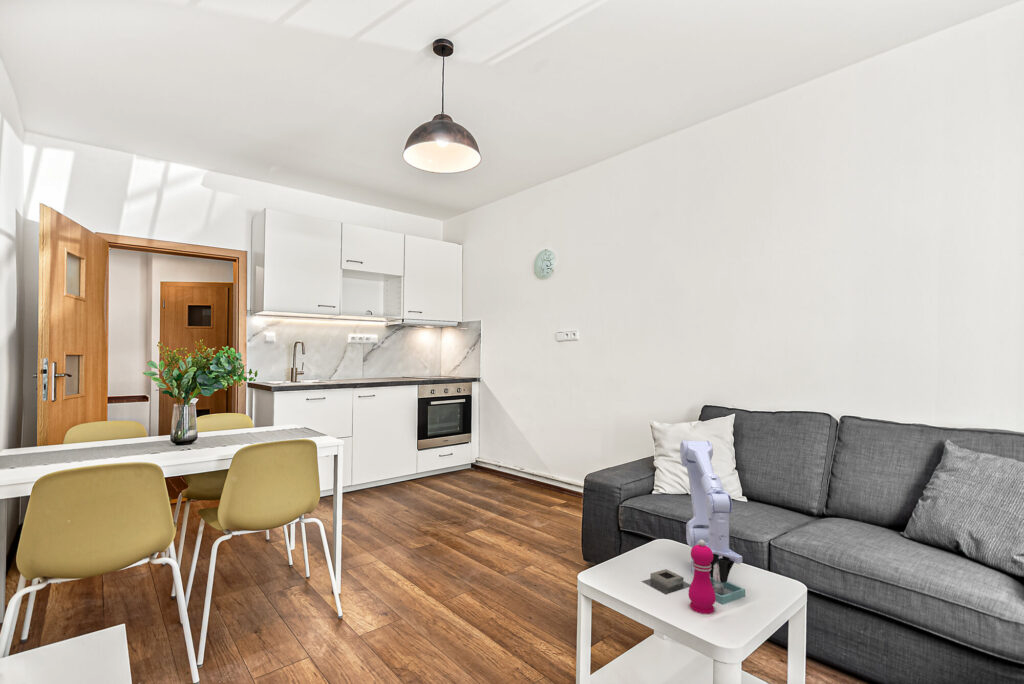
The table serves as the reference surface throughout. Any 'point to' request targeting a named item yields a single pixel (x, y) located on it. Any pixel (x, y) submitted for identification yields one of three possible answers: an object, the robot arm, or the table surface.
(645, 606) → the table surface
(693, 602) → the pepper mill
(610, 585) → the table surface
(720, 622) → the table surface
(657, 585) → the hitch plate
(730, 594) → the tray
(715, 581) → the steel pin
